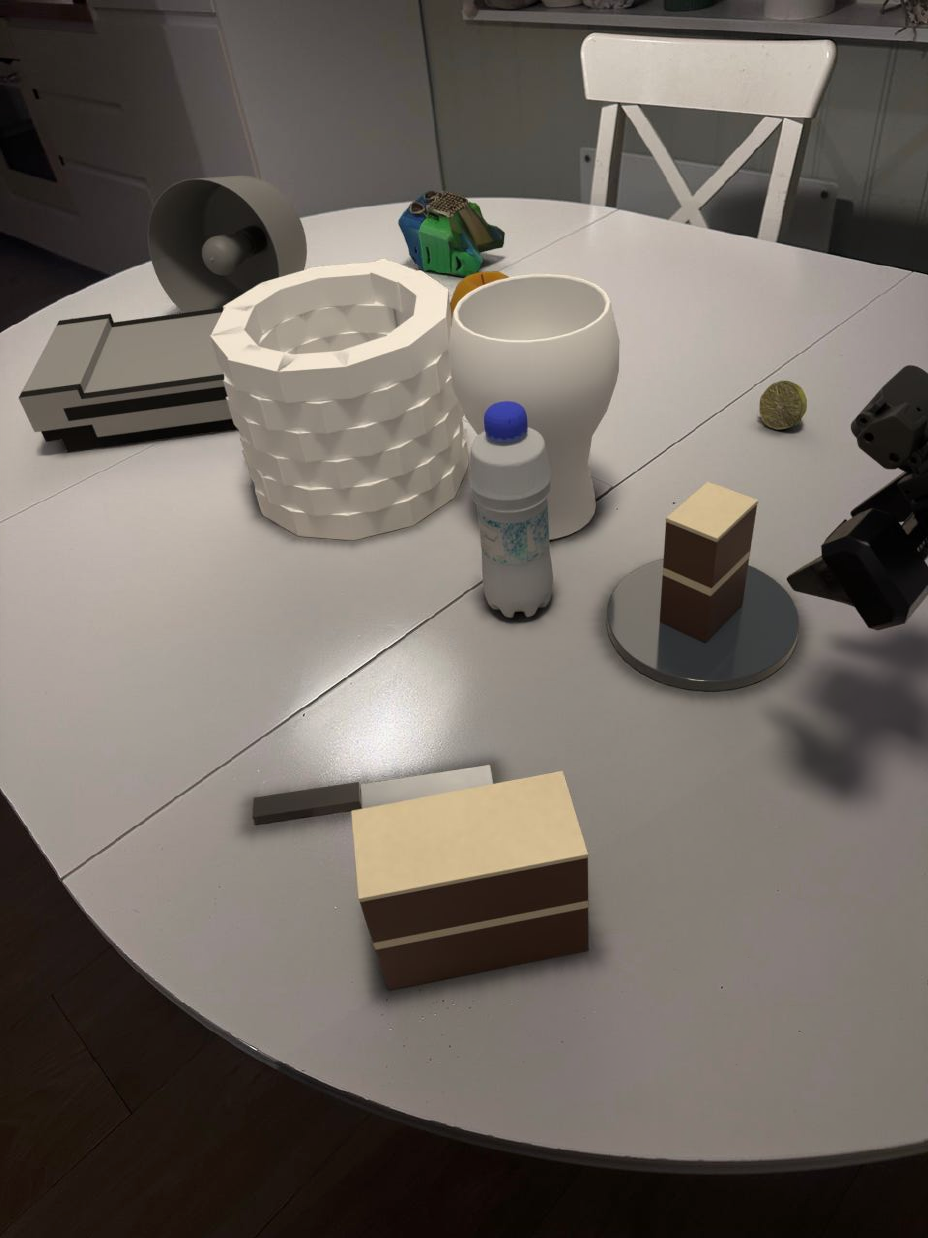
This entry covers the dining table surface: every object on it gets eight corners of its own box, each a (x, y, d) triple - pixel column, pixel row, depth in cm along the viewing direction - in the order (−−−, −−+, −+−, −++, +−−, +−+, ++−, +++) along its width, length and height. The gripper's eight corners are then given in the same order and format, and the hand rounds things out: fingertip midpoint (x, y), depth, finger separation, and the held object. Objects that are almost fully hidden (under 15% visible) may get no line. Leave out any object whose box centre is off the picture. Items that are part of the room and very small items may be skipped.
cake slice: (742, 604, 79) (758, 499, 72) (705, 643, 76) (717, 538, 69) (697, 584, 82) (707, 481, 74) (659, 621, 79) (665, 517, 71)
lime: (804, 435, 99) (811, 393, 96) (757, 434, 100) (763, 392, 97) (801, 413, 103) (808, 372, 99) (756, 412, 104) (762, 372, 100)
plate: (810, 583, 82) (813, 573, 81) (779, 711, 72) (781, 701, 71) (635, 551, 88) (635, 541, 87) (582, 665, 77) (582, 655, 77)
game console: (309, 422, 112) (294, 359, 106) (47, 458, 111) (18, 397, 106) (313, 345, 127) (300, 287, 121) (82, 377, 127) (59, 320, 121)
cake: (566, 870, 63) (562, 770, 56) (588, 950, 59) (588, 854, 51) (379, 906, 63) (350, 810, 55) (388, 991, 58) (358, 899, 51)
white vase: (631, 475, 97) (637, 273, 82) (596, 565, 87) (596, 353, 72) (494, 459, 102) (477, 266, 87) (445, 543, 91) (417, 339, 77)
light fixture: (256, 173, 117) (345, 140, 138) (96, 187, 126) (202, 153, 146) (291, 333, 129) (369, 280, 149) (142, 335, 137) (235, 285, 158)
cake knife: (490, 767, 70) (489, 758, 70) (494, 792, 69) (493, 784, 68) (256, 802, 70) (253, 794, 69) (255, 828, 68) (251, 820, 68)
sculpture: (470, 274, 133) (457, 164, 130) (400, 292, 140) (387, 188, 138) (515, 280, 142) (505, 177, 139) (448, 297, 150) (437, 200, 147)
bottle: (472, 590, 86) (449, 398, 72) (538, 569, 87) (527, 376, 74) (499, 635, 81) (480, 438, 68) (568, 612, 82) (563, 414, 69)
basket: (351, 571, 90) (311, 397, 77) (212, 488, 103) (158, 328, 90) (521, 455, 102) (510, 289, 89) (377, 394, 115) (350, 242, 102)
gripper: (1030, 285, 55) (824, 398, 69) (891, 421, 46) (685, 520, 59) (1125, 438, 56) (905, 520, 70) (1008, 601, 47) (780, 659, 60)
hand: (823, 549), depth 65 cm, fingers open, 9 cm apart
